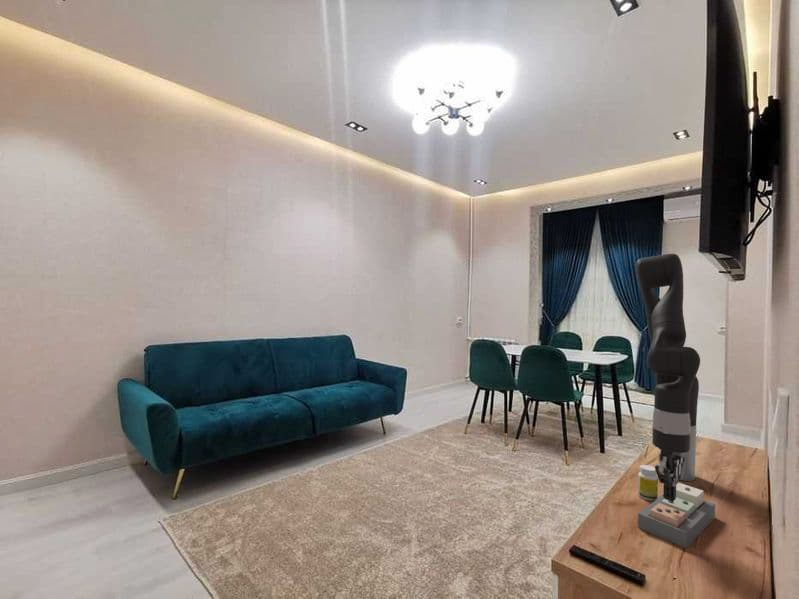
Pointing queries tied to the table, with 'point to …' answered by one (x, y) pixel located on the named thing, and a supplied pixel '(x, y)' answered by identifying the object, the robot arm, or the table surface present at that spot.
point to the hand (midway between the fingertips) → (669, 499)
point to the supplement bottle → (647, 483)
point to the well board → (685, 531)
